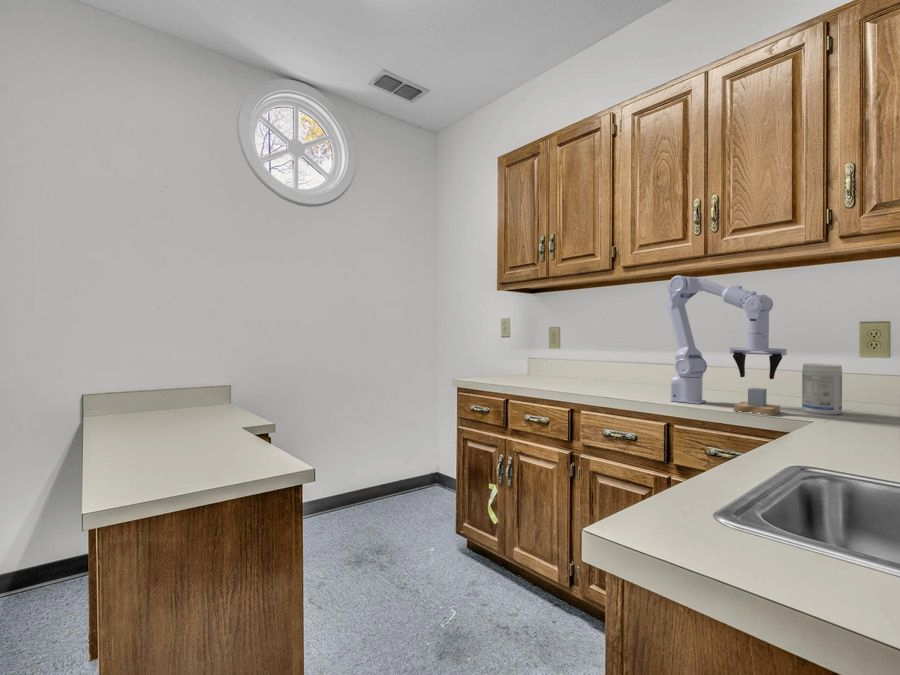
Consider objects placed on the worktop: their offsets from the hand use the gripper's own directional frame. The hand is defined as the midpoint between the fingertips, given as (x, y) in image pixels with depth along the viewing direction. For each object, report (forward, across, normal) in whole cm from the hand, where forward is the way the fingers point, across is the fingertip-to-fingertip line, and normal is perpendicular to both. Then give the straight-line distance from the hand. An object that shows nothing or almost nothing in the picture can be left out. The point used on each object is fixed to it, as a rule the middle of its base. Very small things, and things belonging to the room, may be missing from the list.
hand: (756, 377), depth 142 cm
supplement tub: (+11, -14, -12) cm, 22 cm away
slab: (+10, 0, +1) cm, 10 cm away
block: (+8, 0, 0) cm, 8 cm away
